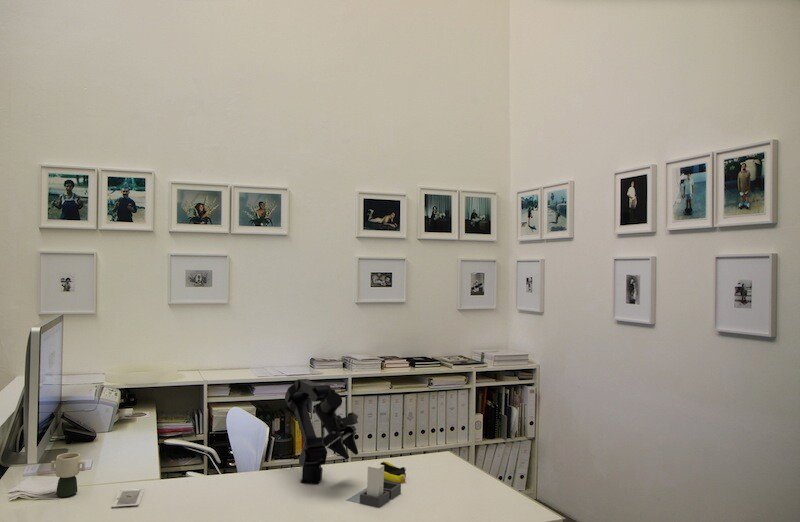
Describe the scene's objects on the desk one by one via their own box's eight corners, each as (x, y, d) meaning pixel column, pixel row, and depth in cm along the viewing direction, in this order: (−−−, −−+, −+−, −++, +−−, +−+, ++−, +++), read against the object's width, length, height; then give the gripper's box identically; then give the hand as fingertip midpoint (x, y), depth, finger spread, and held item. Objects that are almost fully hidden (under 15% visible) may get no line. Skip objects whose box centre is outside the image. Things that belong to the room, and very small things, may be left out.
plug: (366, 503, 207) (367, 466, 207) (372, 499, 210) (373, 463, 210) (378, 505, 205) (379, 468, 205) (383, 501, 208) (384, 465, 208)
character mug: (88, 491, 211) (89, 452, 211) (79, 499, 204) (81, 458, 204) (54, 491, 210) (56, 452, 210) (44, 498, 203) (46, 458, 203)
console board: (345, 503, 208) (345, 491, 208) (368, 489, 223) (369, 477, 223) (379, 511, 202) (379, 498, 203) (401, 496, 217) (401, 484, 217)
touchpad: (144, 492, 213) (144, 485, 213) (138, 508, 199) (138, 501, 199) (119, 493, 211) (119, 486, 211) (111, 510, 197) (112, 503, 197)
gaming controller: (376, 487, 225) (404, 489, 224) (377, 472, 225) (405, 473, 224) (380, 474, 240) (406, 475, 239) (380, 459, 240) (406, 461, 239)
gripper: (336, 407, 210) (361, 447, 206) (355, 402, 228) (379, 439, 224) (311, 426, 212) (335, 466, 208) (331, 420, 230) (355, 456, 226)
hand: (352, 456), depth 216 cm, fingers open, 9 cm apart
